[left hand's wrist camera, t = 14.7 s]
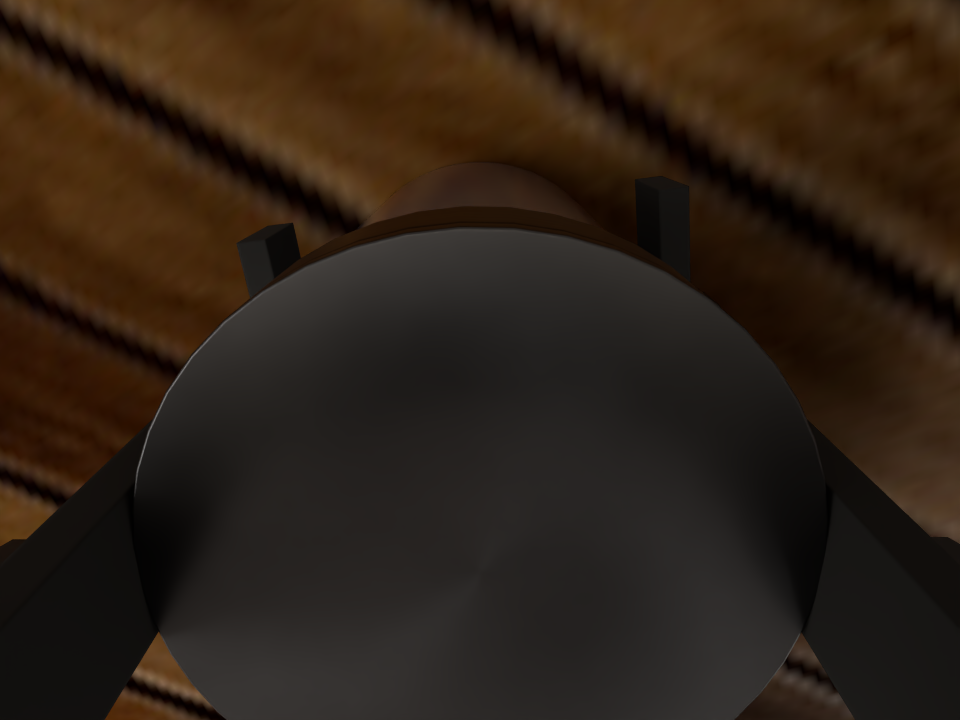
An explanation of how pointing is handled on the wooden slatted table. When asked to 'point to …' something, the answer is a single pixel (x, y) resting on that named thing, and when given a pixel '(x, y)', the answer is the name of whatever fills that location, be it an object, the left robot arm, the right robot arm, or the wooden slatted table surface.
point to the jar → (480, 192)
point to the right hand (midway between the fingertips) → (460, 207)
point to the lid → (479, 486)
